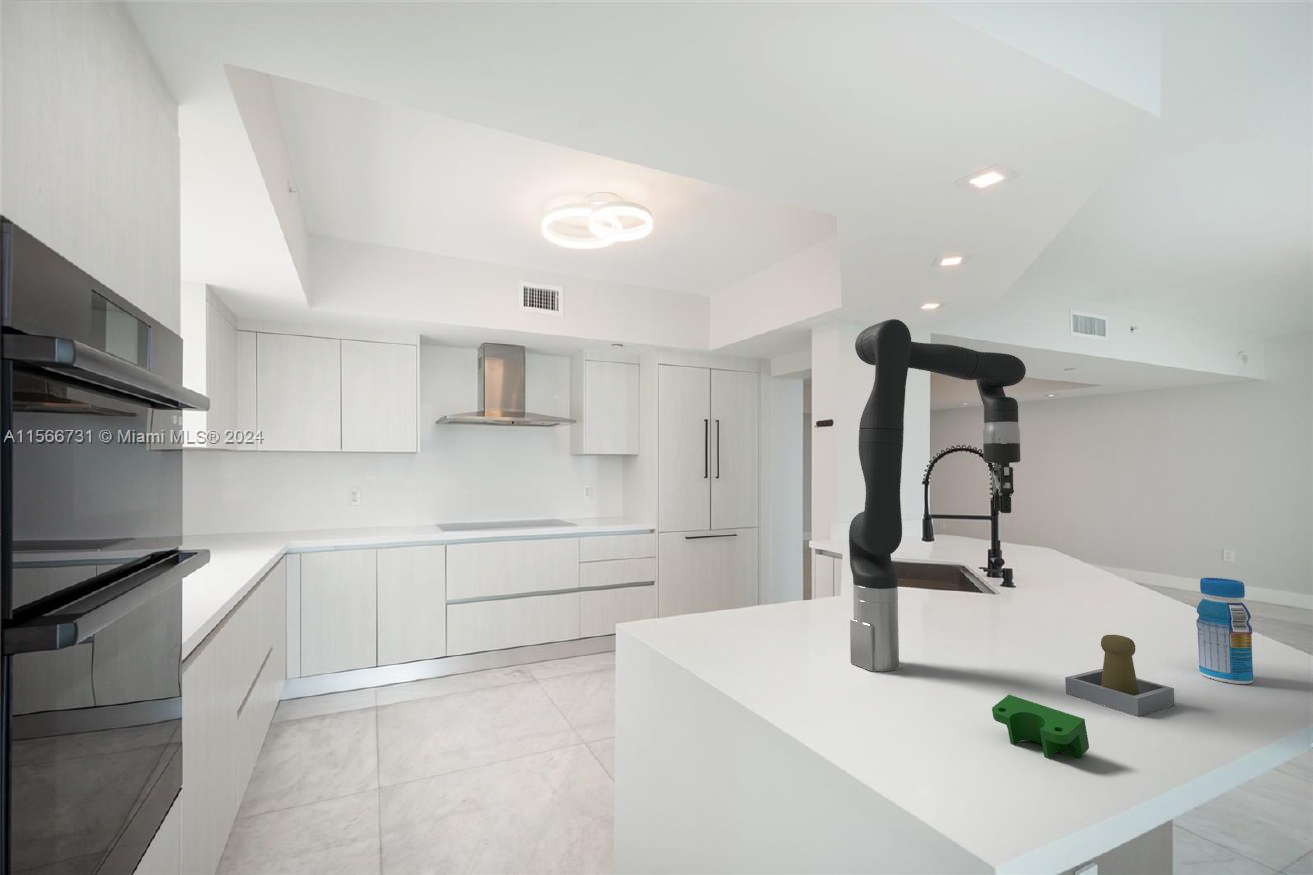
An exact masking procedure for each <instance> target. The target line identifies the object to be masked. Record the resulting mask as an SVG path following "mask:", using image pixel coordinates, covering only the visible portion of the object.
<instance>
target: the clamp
mask: <svg viewBox="0 0 1313 875" xmlns="http://www.w3.org/2000/svg"><path fill="white" fill-rule="evenodd" d="M991 711H992V717H993V720H994V721H995V722H997V723H1000V724H1003V725H1006V728H1007V731H1008V738H1009V743H1010V745H1012V746H1015V745H1016V744H1017V743H1019V742H1022V741H1031V742H1033V743H1036V744H1039V745H1042V750H1043V756H1044V758H1046V759H1049V760H1050V759H1051V758H1052V757H1053V756H1054V755H1055V754H1057V753H1058V752H1061V753H1064V754H1065V755H1068V756H1070V757H1073V758H1077V759H1079V758H1081V757H1082V756H1083V755H1084V754H1085V753H1086V752H1087V751H1089V748H1090V744H1089V738H1088V737H1089V736H1088V732H1087V726H1086V719H1085V718H1084V717H1083V718H1082V717H1080V716H1077V715H1074V714H1071V713H1068V712H1064V711H1061V710H1058V709H1055V708H1052V707H1049V706H1046V705H1043V704H1040V703H1038V702H1033V701H1030V700H1027V699H1024V698H1021V697H1018V696H1016V695H1012V694H1008V695H1007V696H1004V698H1003V699H1002V700H1000V701H999V702H998V703H996V704H995V705H993V706H992V707H991Z"/></svg>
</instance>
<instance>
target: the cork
mask: <svg viewBox="0 0 1313 875" xmlns="http://www.w3.org/2000/svg"><path fill="white" fill-rule="evenodd" d="M1100 647H1101V648H1102V651H1103V652H1104V657H1103V665H1102V669H1103V672H1102V680H1101V686H1102V687H1106V688H1109V689H1112V690H1116V691H1119V692H1123V693H1126V694H1129V695H1133V696H1136V695H1139V690H1138V685H1137V680H1136V678H1137V676H1136V669H1135V666H1134V665H1135V664H1134V659H1133V656H1134V654H1135V653H1136V644H1135V642H1134V640H1133V639H1132V638H1129V637H1127V636H1124V635H1120V634H1105V635H1103V636H1102V637H1101V641H1100Z"/></svg>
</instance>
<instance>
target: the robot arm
mask: <svg viewBox="0 0 1313 875" xmlns="http://www.w3.org/2000/svg"><path fill="white" fill-rule="evenodd" d="M911 335H912V334H911V332H910V329H909V327H908V326H907V325H906V323H904V322H903V321H902V320H900V319H896V318H892V319H886V320H884V321H881V322H878V323H876V324H874V325H871V326H868V327H867V328H865V329H864V330H862V331H861V332H860V333H859V334H858V335H857V337H856V339H855V343H854V349H855V353H856V355H857V356H858V358H859V359H860V360H861V361H862V362H863V363H865V364H866V365H867V364H868V365H869V366H870V365H871V366H875V372H874V381H873V386H872V389H871V392H870V395H869V397H868V399H867V401H866V404H865V406H864V408H863V411H862V414H861V417H860V420H859V427H858V428H859V429H858V457H859V462H860V466H861V471H862V474H863V479H864V485H865V486H864V487H865V499H864V500H865V501H864V508H863V509H864V511H861V512H859V513H858V514H856V515H855V516H854V517H853V519H852V520H851V523H850V525H849V529H848V546H849V547H848V548H849V549H848V550H849V566H850V570H851V573H852V574H851V575H852V582H853V584H852V588H853V589H852V590H853V592H852V594H853V595H852V596H853V599H852V600H853V606H852V607H853V618H851V619H850V620H849V625H850V626H849V630H850V631H849V632H850V634H849V636H850V637H849V640H850V648H849V649H850V663H851V664H852V665H855V666H858V667H860V668H862V669H865V670H868V671H870V672H874V671H876V672H889V671H895V670H898V669H899V668H900V649H899V648H900V646H899V642H900V641H899V601H898V600H899V590H898V589H899V586H898V584H899V583H898V581H899V580H898V574H897V572H896V570H895V568H894V565H893V563H892V555H891V554H893V553H894V552H896V550H897V549H898V548H899V547H900V545H901V542H902V538H903V520H902V507H901V504H902V503H901V482H902V481H901V480H902V467H903V465H902V464H903V463H902V462H903V450H904V433H905V432H904V431H905V430H904V428H905V427H904V425H905V424H904V423H905V422H904V421H905V417H904V416H905V403H906V388H907V379H908V372H909V369H915V370H920V371H926V372H931V373H936V374H940V375H944V376H947V377H952V378H954V379H955V378H956V379H959V380H966V381H975V383H976V385H977V389H978V392H979V397H980V399H981V401H982V405H983V430H982V431H983V432H982V444H983V445H982V452H983V455H982V456H983V459H982V460H983V462H984V463H993V464H994V466H993V467H991V472H990V474H991V476H990V477H991V492H992V494H993V497H994V498H993V501H994V502H993V505H994V506H993V508H994V511H996V512H1000V513H1001V514H1011V513H1012V496H1013V494H1014V493H1015V490H1014V467H1013V466H1010V464H1012V463H1013V464H1015V463H1016V464H1017V463H1020V462H1021V432H1020V425H1019V404H1018V401H1017V399H1016V398H1014V397H1011V396H1006V393H1005V391H1004V388H1005V387H1011V386H1014V385H1017V384H1019V383H1020V382H1022V381H1023V379H1025V376H1026V373H1027V368H1026V365H1025V364H1024V362H1023V361H1022V360H1021V359H1020V358H1019V357H1017V356H1015V355H1013V354H1009V353H1003V352H1002V353H1001V352H989V351H987V352H985V351H977V350H974V349H972V348H971V349H970V348H968V347H963V346H959V345H953V344H945V343H927V342H926V343H925V342H917V341H912V336H911Z"/></svg>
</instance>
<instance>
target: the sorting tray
mask: <svg viewBox="0 0 1313 875" xmlns="http://www.w3.org/2000/svg"><path fill="white" fill-rule="evenodd" d="M1102 672H1103V668H1098V669H1095V670H1091V671H1086V672H1082V673H1078V674H1073V675H1070V676H1065V678H1064V679H1065V681H1064V682H1065V694H1066V693H1068V694H1067V695H1069V694H1071V695H1070V696H1073V695H1074V697H1076V696H1078V697H1077V698H1079V697H1081V698H1080V699H1082V698H1084V699H1083V700H1085V699H1086V701H1088V700H1091V701H1093V702H1092V703H1094V702H1096V703H1095V704H1098V705H1100V706H1104V705H1105V707H1107V708H1110V709H1114V710H1117V711H1120V712H1123V713H1126V714H1130V715H1131V716H1132V715H1133V716H1135V717H1141V716H1144V715H1147V714H1151V713H1153V712H1157V711H1161V710H1163V709H1167V708H1170V707H1172V706H1176V705H1175V688H1174V687H1170V686H1167V685H1165V684H1159V683H1156V682H1153V681H1150V680H1149V681H1148V680H1144V679H1141V678H1138V677H1136V680H1137V685H1138V690H1139V695H1136V696H1133V695H1129V694H1126V693H1123V692H1119V691H1116V690H1112V689H1109V688H1106V687H1102V686H1101V680H1102ZM1091 701H1090V702H1091Z"/></svg>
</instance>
